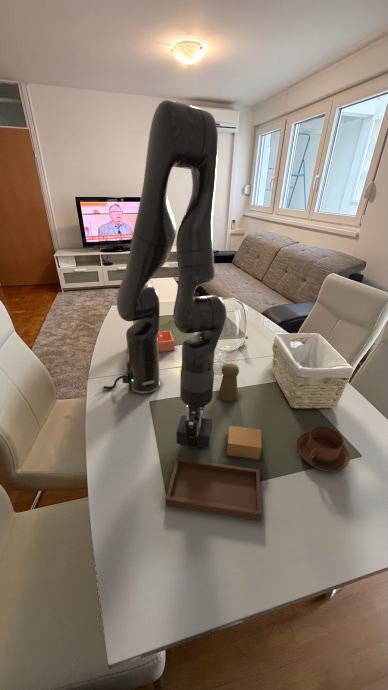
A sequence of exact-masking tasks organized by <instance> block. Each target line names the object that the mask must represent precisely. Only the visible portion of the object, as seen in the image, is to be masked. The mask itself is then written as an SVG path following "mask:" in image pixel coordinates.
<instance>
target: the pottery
mask: <svg viewBox="0 0 388 690" xmlns="http://www.w3.org/2000/svg"><path fill="white" fill-rule="evenodd" d="M170 351H171V352H172V351H175V339H174V337H173V334H172V332H171V330H164V331H159V332H158V353H160V352H170Z"/></svg>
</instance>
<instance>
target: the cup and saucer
mask: <svg viewBox="0 0 388 690" xmlns="http://www.w3.org/2000/svg"><path fill="white" fill-rule="evenodd" d="M296 448H297V449H296V450H297V452H298V453H299V455H300V457H301V458H302V460H304V461H305V462H306V463H307V464H309V465H310V466H312V467H314V468H316V469H318V470H320V471H324V472H340V471H342V470H344V469H346V468H347V467H348V465H349V464H350V453H349V451H348V449H347V448H346V446H345V445H344V439H343V437H342V435H341V434H340V433H339V432H338V431H336V430H335V429H333V428H331V427H329V426H324V425H317V426H314V427H312V428H311V429H310V431H309V432H305V433H303V434H301V435H300V436H299V437H298V439H297V441H296Z"/></svg>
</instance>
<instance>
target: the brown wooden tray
mask: <svg viewBox="0 0 388 690" xmlns="http://www.w3.org/2000/svg"><path fill="white" fill-rule="evenodd" d="M260 471H261V469H258V468H257V469H256V468H250V467H244V466H236V465H229V464H224V463H216V462H208V461H201V460H195V459H187V458H180V457H176V458H175V461H174V464H173V469H172V472H171V477H170V480H169V484H168V488H167V492H166V494H165V507H172V508H178V509H184V510H190V511H196V512H201V513H202V512H203V513H208V514H209V513H210V514H214V515H220V516H227V517H233V518H239V519H245V520H251V521H257V522H261V520H262V519H261V518H262V495H261V494H262V493H261V492H262V491H261V474H260V473H261V472H260Z"/></svg>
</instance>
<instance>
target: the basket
mask: <svg viewBox="0 0 388 690" xmlns="http://www.w3.org/2000/svg"><path fill="white" fill-rule="evenodd" d="M274 342H275V346H274V353H273V352H272V354H273V356H272V357H273V358H272V366H271V371H272V374H273V376H274V378H275V380H276V382H277V384H278V386H279V387H280V389H281V391H282V393H283V395H284V397H285V398H286V400H287V402H288V404H289V406H290V407H291V408H293V409H328V408H330V409H332V408H336V407H337V406H338V404H339V402H340V400H341V398H342V396H343V393H344V391H345V389H346V385H347V384H348V383H349V381H350V378H352V377H353V371H354V368H353V367H352V365H350V363H349V362H348V361H347V360H346V359H345V358H344V357H343V356H342V355H341V354H340V353H339V352H338V351H337V350H336V349H335V348H334V347H333V346H332V345H331V344H330V343H329V342H328V341H327V340H326V338H324V336H322V335H321V333H317V332H315V333H311V332H310V333H309V332H291V333H289V332H287V333H285V332H281V333H279V332H278V333H276V334H275V337H274V339H273V343H274ZM295 342H299V343H300V342H302V344H300V345H298V346H296V347H292V345H291V344H292V343H295Z"/></svg>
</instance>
